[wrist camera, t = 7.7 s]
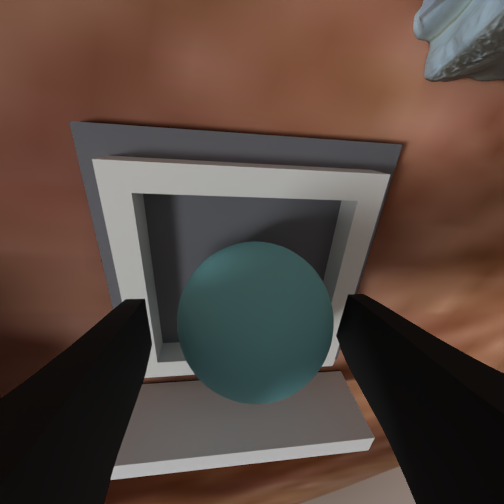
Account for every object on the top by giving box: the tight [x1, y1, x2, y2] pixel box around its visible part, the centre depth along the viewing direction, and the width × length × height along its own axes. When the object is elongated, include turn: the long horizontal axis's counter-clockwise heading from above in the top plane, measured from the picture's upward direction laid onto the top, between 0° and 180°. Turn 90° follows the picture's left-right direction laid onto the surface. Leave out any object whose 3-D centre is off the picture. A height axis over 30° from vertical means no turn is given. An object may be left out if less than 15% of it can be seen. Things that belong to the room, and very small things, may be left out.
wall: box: [110, 371, 375, 480], centre depth 14 cm, size 14×1×4 cm, turn 86°
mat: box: [69, 121, 402, 378], centre depth 11 cm, size 12×12×2 cm
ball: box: [177, 241, 334, 404], centre depth 9 cm, size 6×6×6 cm
